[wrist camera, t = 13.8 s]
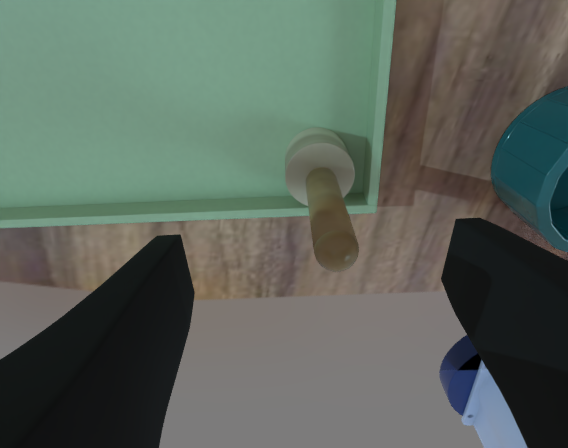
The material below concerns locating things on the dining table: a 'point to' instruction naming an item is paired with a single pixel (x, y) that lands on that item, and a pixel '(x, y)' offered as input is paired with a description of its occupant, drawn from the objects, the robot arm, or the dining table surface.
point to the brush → (324, 193)
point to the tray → (183, 105)
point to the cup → (537, 167)
